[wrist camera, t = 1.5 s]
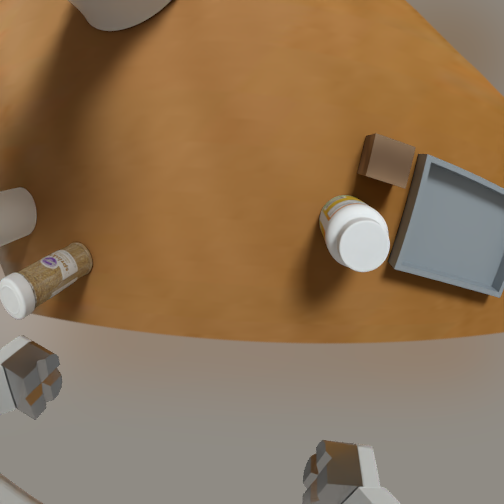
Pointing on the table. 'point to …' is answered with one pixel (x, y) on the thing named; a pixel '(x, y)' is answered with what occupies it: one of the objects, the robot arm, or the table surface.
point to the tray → (452, 228)
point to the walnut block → (386, 160)
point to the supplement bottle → (354, 233)
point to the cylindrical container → (16, 214)
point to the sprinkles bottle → (43, 279)
